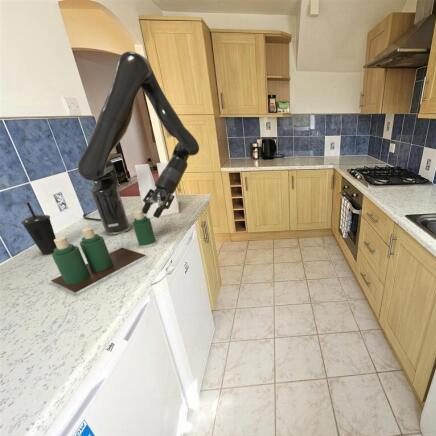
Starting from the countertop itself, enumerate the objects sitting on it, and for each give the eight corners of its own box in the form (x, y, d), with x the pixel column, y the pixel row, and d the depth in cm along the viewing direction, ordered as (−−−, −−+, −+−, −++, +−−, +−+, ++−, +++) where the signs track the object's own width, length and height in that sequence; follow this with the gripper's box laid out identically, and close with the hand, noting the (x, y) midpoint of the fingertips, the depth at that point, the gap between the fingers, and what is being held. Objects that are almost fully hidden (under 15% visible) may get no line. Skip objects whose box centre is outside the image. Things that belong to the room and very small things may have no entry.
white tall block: (179, 212, 128) (168, 165, 118) (146, 218, 122) (132, 168, 112) (178, 202, 144) (169, 159, 134) (149, 206, 138) (137, 162, 129)
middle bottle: (86, 269, 80) (70, 231, 74) (106, 260, 85) (92, 223, 79) (97, 273, 78) (81, 234, 72) (116, 264, 82) (102, 226, 77)
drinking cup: (68, 248, 96) (47, 200, 88) (45, 258, 89) (20, 207, 81) (56, 245, 98) (34, 198, 90) (32, 254, 91) (6, 205, 83)
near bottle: (61, 281, 74) (41, 241, 69) (83, 271, 79) (66, 232, 73) (71, 286, 72) (52, 245, 66) (94, 275, 77) (77, 236, 71)
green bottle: (135, 245, 96) (125, 212, 90) (149, 239, 101) (140, 207, 95) (146, 248, 94) (135, 215, 88) (159, 242, 99) (150, 209, 93)
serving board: (51, 283, 75) (50, 280, 75) (122, 249, 93) (121, 247, 93) (76, 295, 70) (75, 292, 69) (146, 257, 88) (146, 255, 87)
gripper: (151, 173, 100) (130, 208, 96) (172, 176, 93) (151, 214, 89) (166, 182, 107) (147, 215, 102) (187, 186, 100) (168, 222, 95)
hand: (149, 215), depth 96 cm, fingers open, 8 cm apart
